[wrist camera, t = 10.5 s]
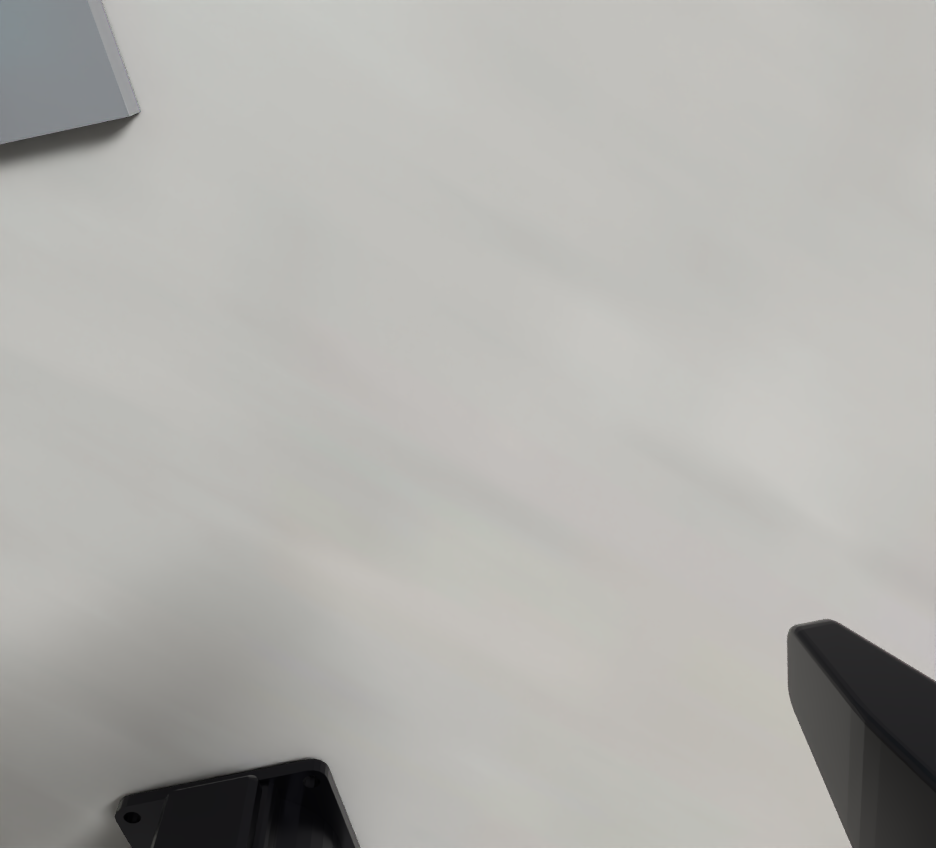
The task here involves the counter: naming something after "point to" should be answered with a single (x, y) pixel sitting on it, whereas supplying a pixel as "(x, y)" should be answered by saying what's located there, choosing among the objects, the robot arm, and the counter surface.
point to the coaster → (59, 68)
